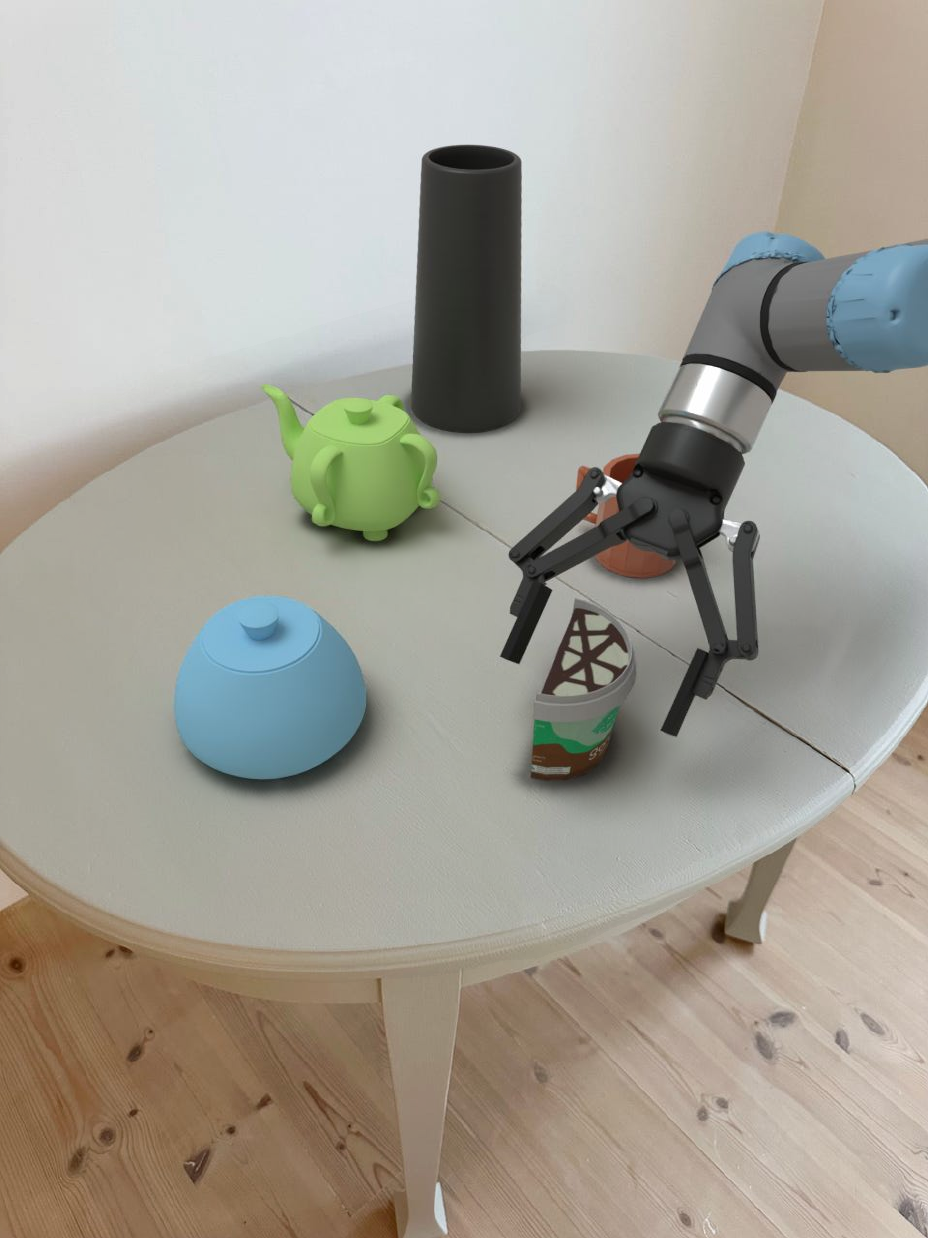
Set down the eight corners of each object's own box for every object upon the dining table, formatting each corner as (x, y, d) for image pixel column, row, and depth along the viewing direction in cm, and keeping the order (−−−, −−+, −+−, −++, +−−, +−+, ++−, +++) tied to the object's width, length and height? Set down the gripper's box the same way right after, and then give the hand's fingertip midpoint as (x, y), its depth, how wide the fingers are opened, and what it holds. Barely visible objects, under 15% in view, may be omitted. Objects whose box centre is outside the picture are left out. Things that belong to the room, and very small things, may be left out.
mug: (689, 546, 97) (706, 470, 92) (655, 588, 92) (669, 510, 86) (590, 510, 102) (600, 435, 96) (552, 548, 97) (559, 472, 91)
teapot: (287, 562, 94) (273, 450, 86) (273, 485, 105) (259, 379, 96) (446, 541, 97) (447, 431, 89) (417, 468, 108) (416, 364, 100)
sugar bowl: (293, 823, 70) (276, 713, 63) (140, 746, 76) (107, 636, 68) (402, 697, 80) (398, 589, 73) (260, 637, 86) (243, 531, 78)
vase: (388, 407, 119) (380, 156, 100) (459, 370, 127) (463, 133, 108) (473, 444, 112) (480, 184, 93) (542, 403, 120) (562, 156, 102)
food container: (604, 813, 71) (621, 720, 65) (525, 791, 73) (534, 698, 66) (636, 702, 80) (654, 611, 74) (565, 684, 82) (576, 593, 75)
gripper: (866, 506, 70) (748, 769, 71) (569, 410, 81) (467, 639, 81) (866, 476, 64) (736, 767, 64) (542, 375, 74) (431, 626, 74)
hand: (585, 696), depth 72 cm, fingers open, 13 cm apart
